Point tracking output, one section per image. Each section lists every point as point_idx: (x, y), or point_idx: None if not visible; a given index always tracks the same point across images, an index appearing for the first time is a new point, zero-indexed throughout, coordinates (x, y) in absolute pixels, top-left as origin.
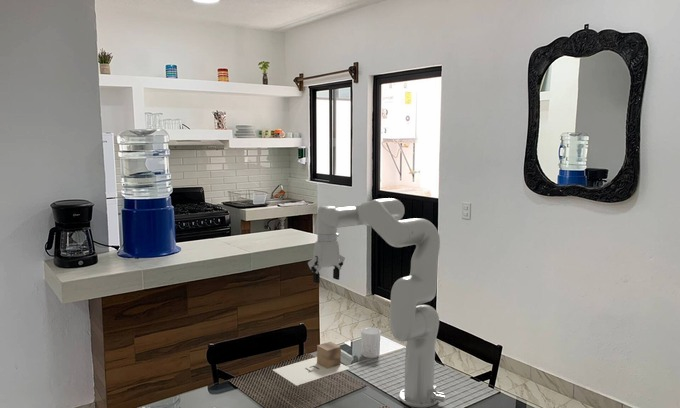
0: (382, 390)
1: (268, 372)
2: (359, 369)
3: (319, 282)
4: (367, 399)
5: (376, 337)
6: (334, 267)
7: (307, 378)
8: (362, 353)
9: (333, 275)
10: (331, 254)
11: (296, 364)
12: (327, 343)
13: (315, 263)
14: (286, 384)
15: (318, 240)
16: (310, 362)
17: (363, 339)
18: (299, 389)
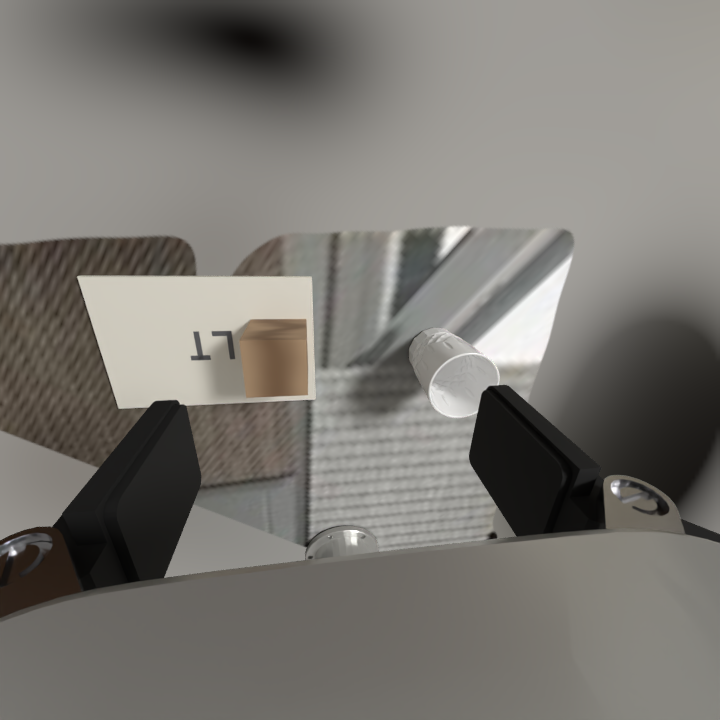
0: (308, 503)
1: (64, 274)
2: (338, 406)
3: (199, 486)
4: (254, 516)
5: (449, 409)
6: (602, 496)
7: (169, 389)
8: (412, 346)
9: (500, 411)
10: None
11: (181, 289)
12: (285, 347)
13: (15, 674)
14: (98, 377)
15: None
16: (233, 303)
17: (421, 376)
18: (125, 418)
